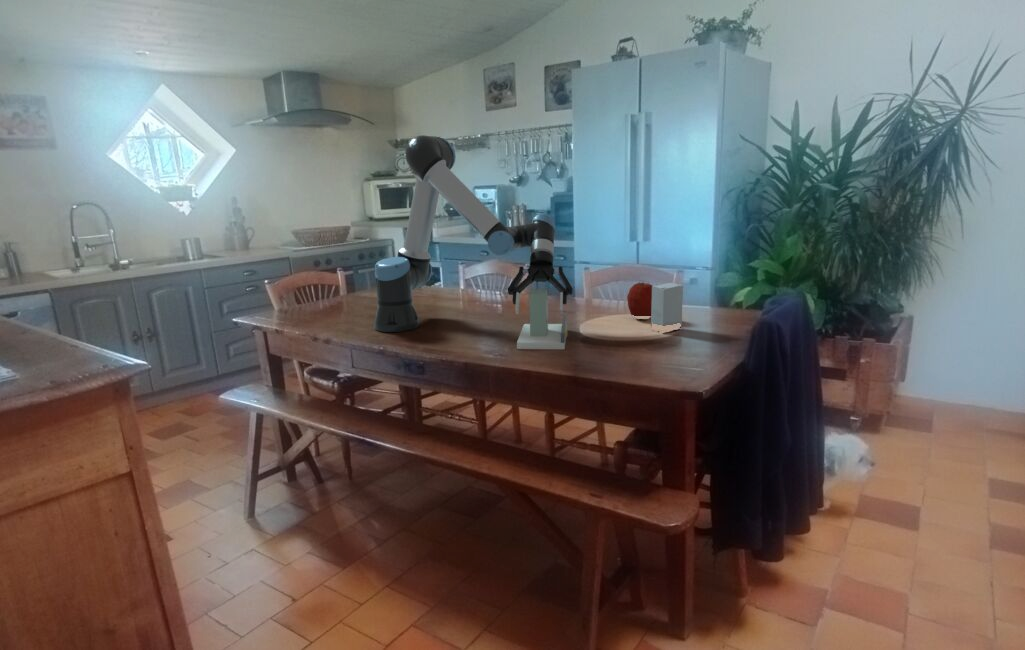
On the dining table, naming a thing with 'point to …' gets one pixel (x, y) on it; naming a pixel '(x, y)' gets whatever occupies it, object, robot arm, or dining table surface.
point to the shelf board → (544, 337)
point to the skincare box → (667, 304)
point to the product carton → (538, 312)
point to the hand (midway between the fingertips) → (538, 312)
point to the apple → (640, 299)
